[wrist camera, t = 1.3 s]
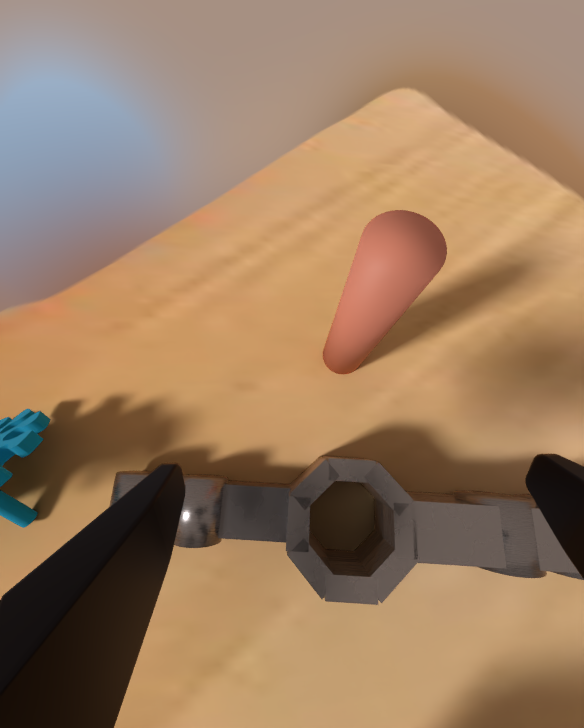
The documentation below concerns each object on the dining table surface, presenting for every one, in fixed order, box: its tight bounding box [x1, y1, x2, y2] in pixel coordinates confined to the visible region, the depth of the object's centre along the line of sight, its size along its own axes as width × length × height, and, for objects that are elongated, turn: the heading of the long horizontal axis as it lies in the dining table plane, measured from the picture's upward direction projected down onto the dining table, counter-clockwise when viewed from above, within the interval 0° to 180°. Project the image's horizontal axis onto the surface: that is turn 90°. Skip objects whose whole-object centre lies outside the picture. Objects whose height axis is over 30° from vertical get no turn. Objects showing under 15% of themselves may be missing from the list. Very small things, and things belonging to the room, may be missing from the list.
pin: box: [323, 210, 447, 374], centre depth 17 cm, size 3×3×13 cm
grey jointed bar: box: [109, 456, 584, 605], centre depth 18 cm, size 7×30×4 cm, turn 87°
